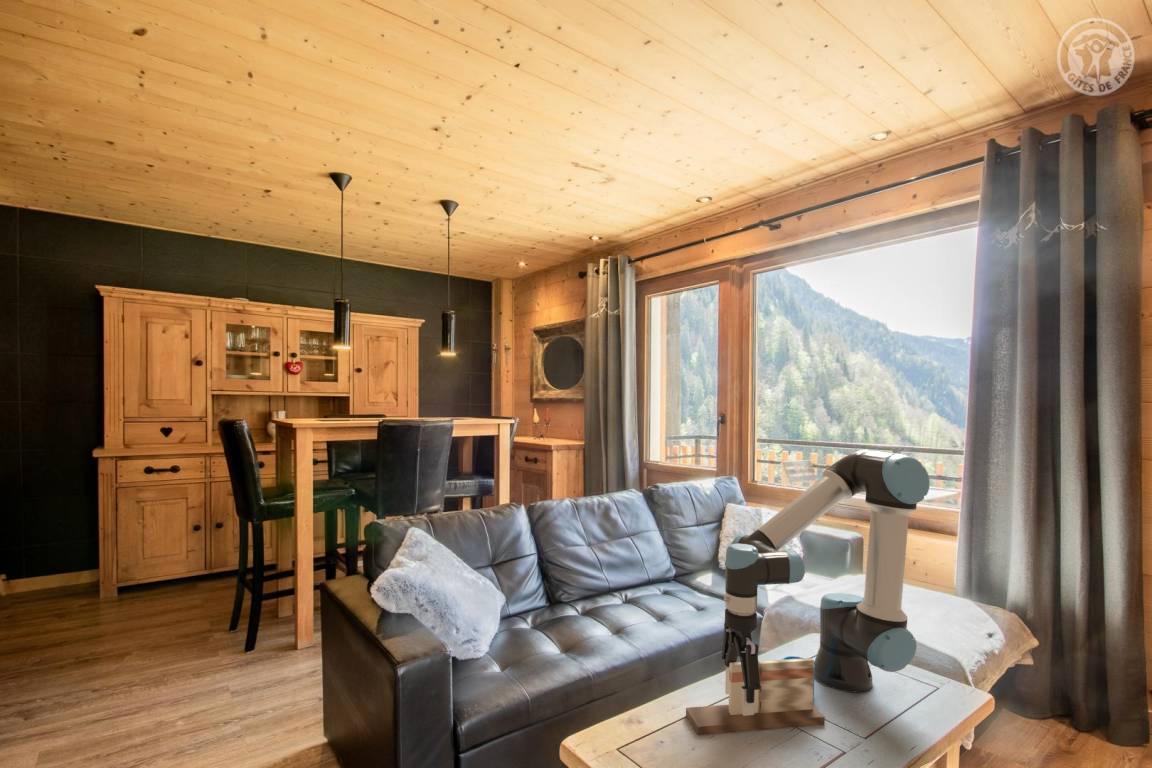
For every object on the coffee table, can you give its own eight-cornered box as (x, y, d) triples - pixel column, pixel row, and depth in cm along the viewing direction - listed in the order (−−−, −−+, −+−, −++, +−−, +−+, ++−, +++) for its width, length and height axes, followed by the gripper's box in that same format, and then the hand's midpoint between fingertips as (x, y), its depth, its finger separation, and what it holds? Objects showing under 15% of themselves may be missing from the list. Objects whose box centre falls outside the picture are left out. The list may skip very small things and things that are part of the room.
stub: (755, 710, 141) (756, 660, 141) (758, 713, 139) (759, 663, 139) (728, 712, 140) (729, 662, 140) (730, 715, 138) (731, 665, 138)
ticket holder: (806, 706, 146) (807, 651, 146) (824, 725, 139) (825, 666, 139) (685, 715, 141) (686, 658, 141) (697, 735, 134) (698, 675, 134)
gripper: (709, 594, 149) (707, 681, 149) (746, 629, 128) (744, 730, 128) (736, 593, 151) (734, 680, 151) (777, 627, 129) (775, 728, 129)
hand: (739, 703), depth 139 cm, fingers open, 9 cm apart
